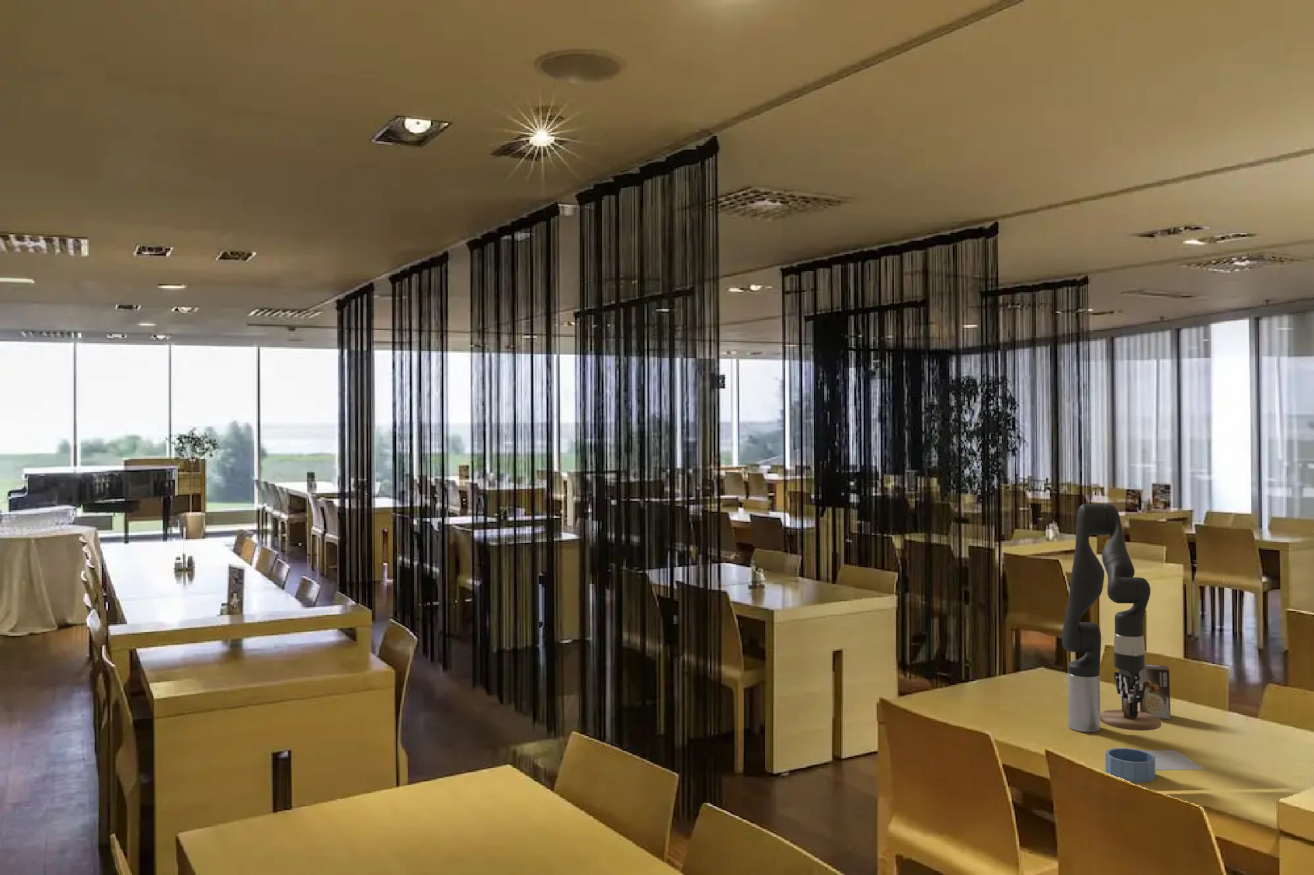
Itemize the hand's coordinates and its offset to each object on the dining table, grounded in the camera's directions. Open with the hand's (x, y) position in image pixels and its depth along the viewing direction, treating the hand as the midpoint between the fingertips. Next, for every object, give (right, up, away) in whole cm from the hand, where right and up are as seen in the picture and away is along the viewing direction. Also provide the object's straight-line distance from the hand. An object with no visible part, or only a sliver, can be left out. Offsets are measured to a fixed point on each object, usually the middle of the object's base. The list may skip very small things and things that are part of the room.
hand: (1129, 714), depth 269 cm
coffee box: (+34, -16, +55) cm, 67 cm away
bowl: (0, -17, 0) cm, 17 cm away
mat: (+14, -17, +11) cm, 25 cm away
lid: (0, -2, 0) cm, 2 cm away
